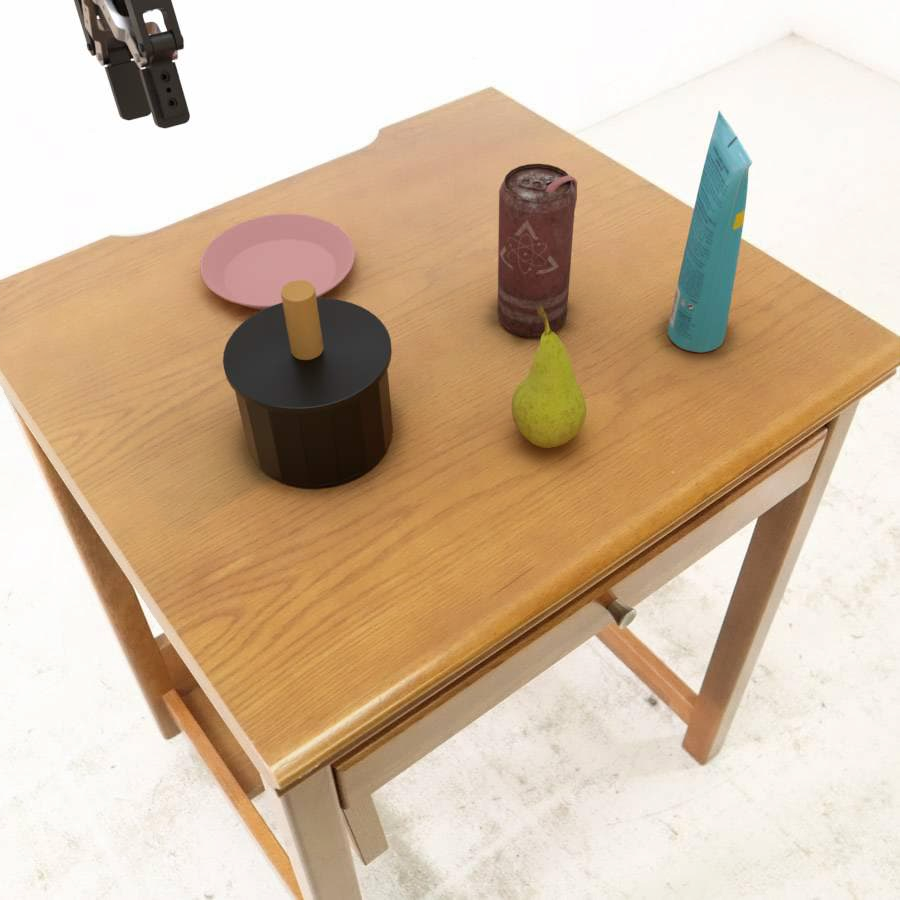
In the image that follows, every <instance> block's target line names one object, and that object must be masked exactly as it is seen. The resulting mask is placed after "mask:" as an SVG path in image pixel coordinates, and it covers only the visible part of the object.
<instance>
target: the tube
mask: <svg viewBox="0 0 900 900" xmlns="http://www.w3.org/2000/svg"><path fill="white" fill-rule="evenodd" d="M752 164H753V160H752V159H751V157H750V155H749V154H748V151H747V150H746V149H745V147H744V145H743V143H742V142H741V140H740V139H739V137H738V135H737V134H736V132H735V131H734V130H733V127H732V126H731V124H730V123H729V122H728V120H727V119H726V118H725V116H724V115H723V113H722V112H721V110H718V113H717V116H716V119H715V123H714V126H713V130H712V133H711V137H710V141H709V144H708V148H707V152H706V156H705V161H704V164H703V168H702V172H701V176H700V181H699V185H698V190H697V194H696V199H695V203H694V207H693V210H692V211H693V212H692V216H691V221H690V225H689V230H688V234H687V239H686V243H685V247H684V251H683V257H682V262H681V266H680V270H679V275H678V280H677V284H676V288H675V294H674V298H673V302H672V307H671V313H670V318H669V321H668V327H667V334H668V338H669V339H670V341H671V342H672V343H673V344H674V345H675V346H677V347H678V348H680V349H682V350H684V351H687V352H694V353H708V352H712V351H714V350H717V349H718V348H719V347H721V345H723V343H724V341H725V337H726V333H727V327H728V321H729V316H730V309H731V308H730V307H731V303H732V297H733V292H734V285H735V279H736V273H737V268H738V267H737V266H738V261H739V255H740V248H741V243H742V242H741V241H742V235H743V230H744V229H743V228H744V223H745V222H744V221H745V215H746V214H745V213H746V208H747V207H746V205H747V197H748V188H749V187H748V186H749V170H750V167H751V166H752Z"/></svg>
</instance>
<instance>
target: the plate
mask: <svg viewBox="0 0 900 900" xmlns="http://www.w3.org/2000/svg"><path fill="white" fill-rule="evenodd" d="M355 258H356V249H355V245H354V243H353V240H352V239H351V237H350V236H349V234H347V232H346V231H345V230H344V229H342V228H341V227H340V226H338V225H337V224H335V223H333V222H331V221H330V220H326V219H324V218H321V217H318V216H315V215H309V214H304V213H303V214H302V213H276V214H267V215H263V216H262V215H261V216H257V217H253V218H251V219H247V220H244V221H242V222H239V223H237V224H235V225H233V226H231V227H229V228H227V229H226V230H224V231H222V232H221V233H220V234H218V235H217V236H216V237H214V238H213V240H212V241H211V242H210V243H209V244H208V245H207V247H205V250H203V253H202V255H201V259H200V263H199V271H200V275H201V279H202V281H203V282H204V284H205V285H206V287H207V288H208V289H209V290H210V291H211V292H213V293H214V294H215V295H217V296H218V297H219V298H221V299H224V300H226V301H228V302H230V303H234V304H236V305H240V306H243V307H247V308H251V309H254V310H259V311H261V310H263V309H266V308H268V307H270V306H273V305H276V304H279V303H282V297H281V290H282V288H283V286H284V285H286V284H287V283H289V282H292V281H296V280H304V281H308V282H310V283H311V284H313V286H314V287H315V292H316V298H322V296H324V295H326V294H327V293H328V292H330V291H332V290H333V289H334V288H336V287H337V286H338V285H339V284H340V283H342V282H343V281H344V280H345V278H347V276H348V275H349V274H350V272H351V271H352V268H353V266H354V263H355V260H356V259H355Z"/></svg>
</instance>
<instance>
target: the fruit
mask: <svg viewBox="0 0 900 900" xmlns="http://www.w3.org/2000/svg"><path fill="white" fill-rule="evenodd" d="M537 312H538V313H539V315H540V316H541V317H542V318H543V320H544V324H545V331H544V333H543V334H542V336H541V337H540V339H539V340H540V341H539V345H538V348H537V350H536V351H535V354H534V356H533V359H532V363H531V367H530V368H529V369H530V370H529V372H528V373H527V375H526V377H525V378H524V379H523V380H522V381H520V382H519V384H518V386H517V387H516V388H515V390H514V393H513V395H512V399H511V416H512V420H513V422H514V424H515V426H516V428H517V429H518V431H519V432H520V434H521V435H522V436H523V437H524V438H525V439H526V440H527V441H528V442H529V443H531V444H533V445H534V446H536V447H539V448H544V449H547V448H548V449H550V448H555V447H559V446H562V445H564V444H566V443H568V442H569V441H570V440H572V439H573V438H574V437H575V436H576V435H577V434H578V433H579V432H580V431H581V429H582V427H583V425H584V423H585V420H586V415H587V405H586V404H587V403H586V399H585V396H584V393H583V391H582V388H581V386H580V385H579V383H578V381H577V378H576V377H575V376H576V375H575V373H574V369H573V368H574V367H573V365H572V361H571V358H570V355H569V353H568V350H567V348H566V347H565V344H564V343H563V342H562V341H561V339H560V337H559V336H558V335H557V334H556V333H555V332H552V331H550V328H549V324H548V320H547V316H546V314H545V312H544V310H543V307H542V306H538V307H537Z"/></svg>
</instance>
